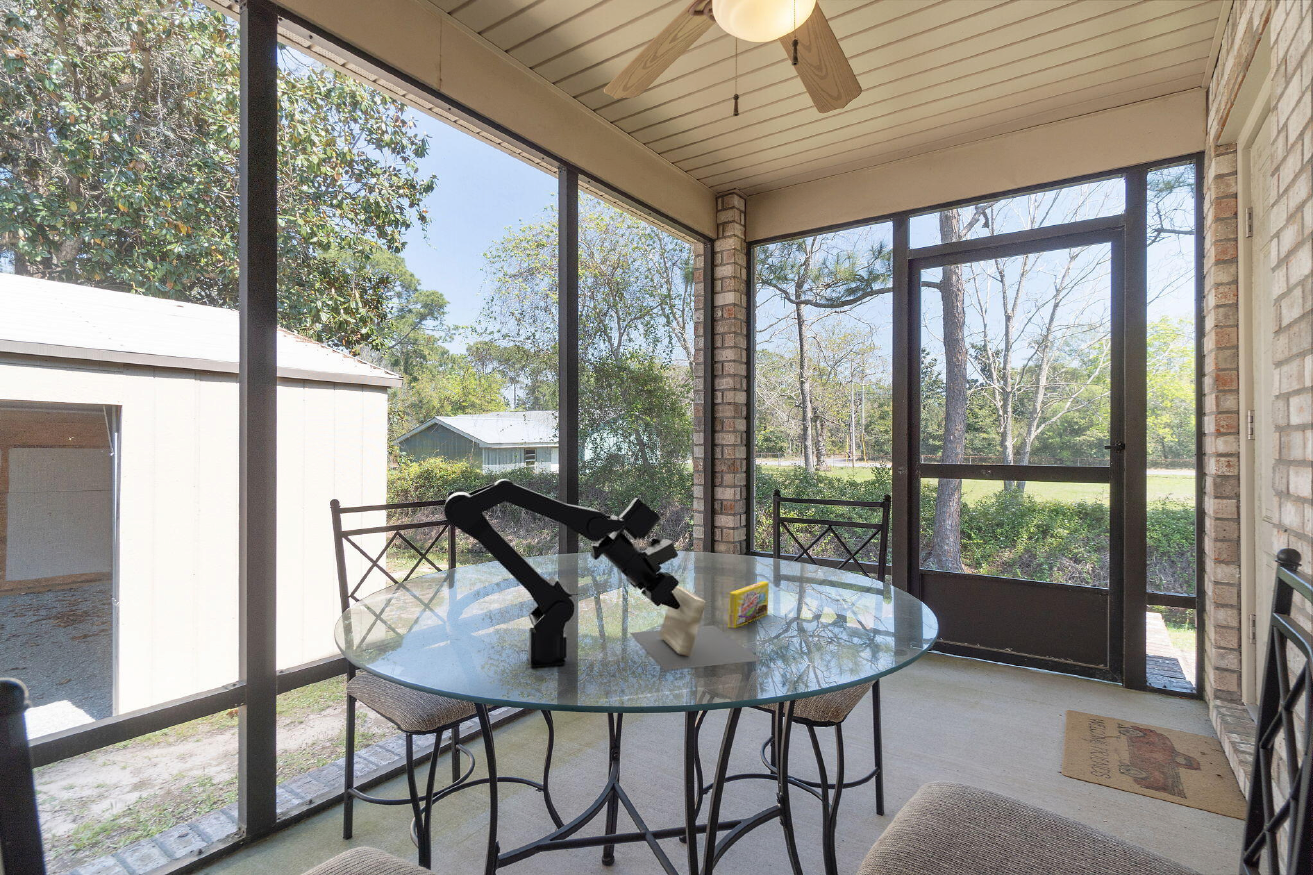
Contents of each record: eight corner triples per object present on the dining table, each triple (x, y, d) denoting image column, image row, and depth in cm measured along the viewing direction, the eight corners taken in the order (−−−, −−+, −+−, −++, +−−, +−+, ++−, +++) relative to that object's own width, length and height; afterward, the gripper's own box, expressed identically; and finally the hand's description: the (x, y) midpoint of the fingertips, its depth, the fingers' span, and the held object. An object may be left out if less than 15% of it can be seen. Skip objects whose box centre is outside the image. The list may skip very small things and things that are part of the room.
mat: (664, 672, 118) (664, 670, 118) (629, 634, 140) (629, 632, 140) (762, 661, 124) (762, 660, 124) (713, 626, 147) (713, 625, 147)
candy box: (735, 630, 144) (736, 593, 144) (727, 628, 146) (727, 592, 146) (769, 614, 157) (769, 581, 157) (761, 613, 159) (761, 580, 159)
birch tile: (678, 653, 125) (695, 598, 126) (659, 635, 136) (674, 585, 137) (689, 656, 126) (706, 601, 127) (669, 638, 137) (685, 588, 138)
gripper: (668, 533, 121) (722, 587, 124) (640, 521, 138) (688, 568, 142) (628, 578, 118) (684, 632, 122) (605, 560, 136) (654, 607, 139)
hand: (678, 607), depth 131 cm, fingers closed
